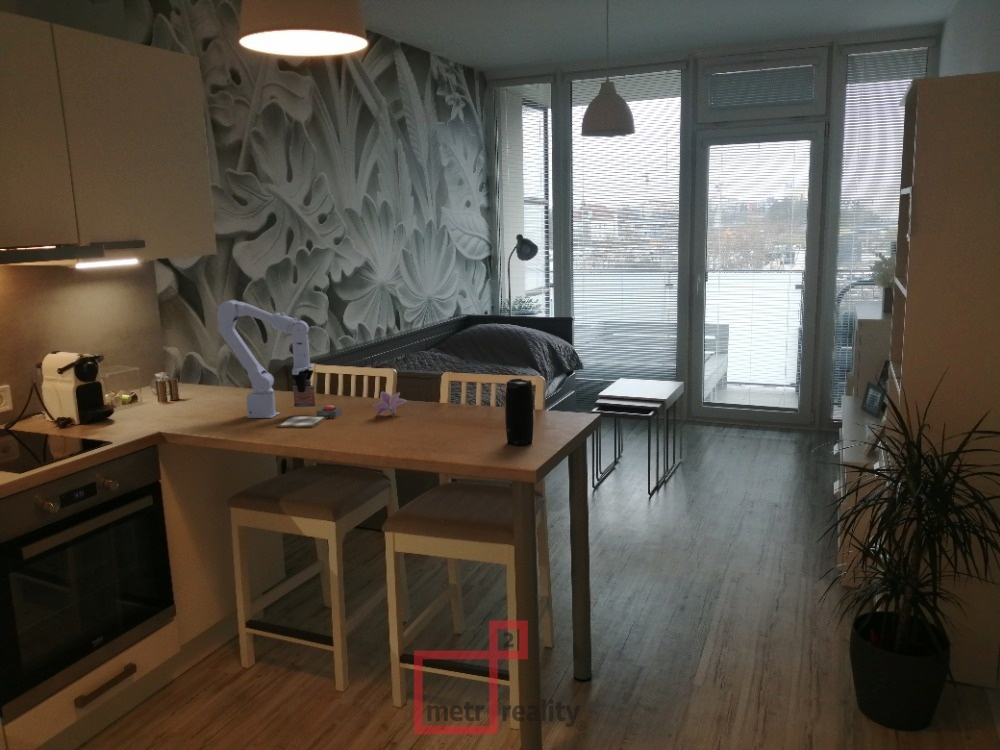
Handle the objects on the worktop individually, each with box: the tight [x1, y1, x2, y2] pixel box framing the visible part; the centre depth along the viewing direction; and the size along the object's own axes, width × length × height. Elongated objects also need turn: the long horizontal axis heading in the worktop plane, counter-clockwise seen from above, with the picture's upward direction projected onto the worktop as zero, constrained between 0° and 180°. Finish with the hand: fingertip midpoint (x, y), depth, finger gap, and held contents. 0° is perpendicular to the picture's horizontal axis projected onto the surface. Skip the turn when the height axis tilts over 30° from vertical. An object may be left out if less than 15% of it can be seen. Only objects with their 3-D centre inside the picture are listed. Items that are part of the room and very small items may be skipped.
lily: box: [372, 390, 408, 419], centre depth 283 cm, size 12×12×10 cm
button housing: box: [316, 406, 343, 418], centre depth 286 cm, size 7×7×2 cm
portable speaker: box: [504, 378, 535, 447], centre depth 242 cm, size 9×9×20 cm
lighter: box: [292, 379, 317, 408], centre depth 288 cm, size 8×3×10 cm, turn 86°
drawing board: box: [276, 415, 328, 428], centre depth 276 cm, size 13×15×1 cm
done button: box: [323, 404, 335, 411], centre depth 286 cm, size 4×4×2 cm
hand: (303, 391), depth 288 cm, fingers closed on lighter, 3 cm apart
